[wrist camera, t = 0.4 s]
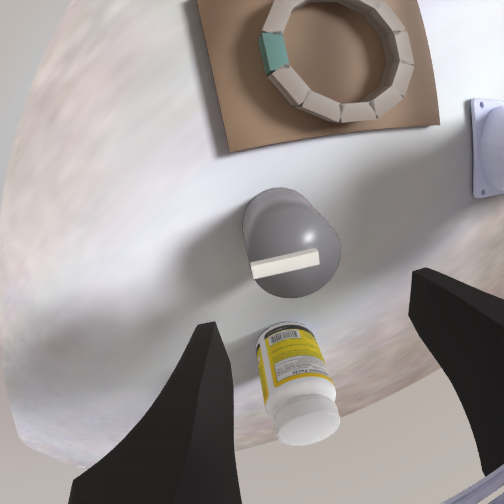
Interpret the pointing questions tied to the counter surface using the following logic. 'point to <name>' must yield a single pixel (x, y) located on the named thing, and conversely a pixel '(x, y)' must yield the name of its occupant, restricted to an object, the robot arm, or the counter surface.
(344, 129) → the hub plate
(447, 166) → the counter surface
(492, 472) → the robot arm
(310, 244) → the knob
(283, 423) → the supplement bottle
